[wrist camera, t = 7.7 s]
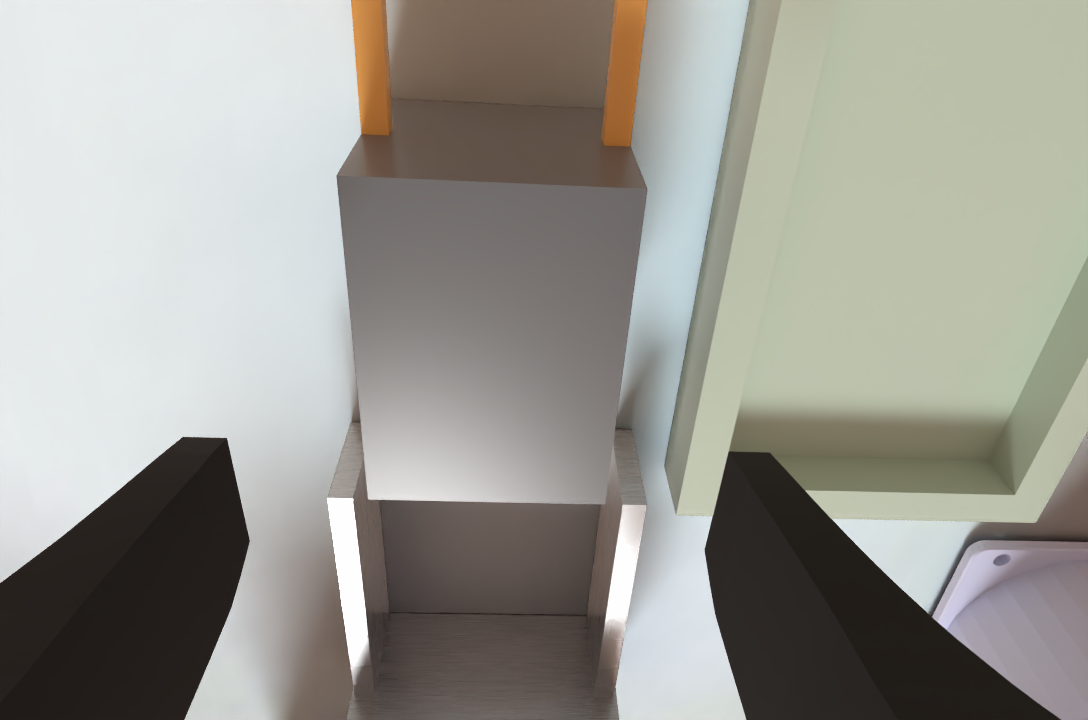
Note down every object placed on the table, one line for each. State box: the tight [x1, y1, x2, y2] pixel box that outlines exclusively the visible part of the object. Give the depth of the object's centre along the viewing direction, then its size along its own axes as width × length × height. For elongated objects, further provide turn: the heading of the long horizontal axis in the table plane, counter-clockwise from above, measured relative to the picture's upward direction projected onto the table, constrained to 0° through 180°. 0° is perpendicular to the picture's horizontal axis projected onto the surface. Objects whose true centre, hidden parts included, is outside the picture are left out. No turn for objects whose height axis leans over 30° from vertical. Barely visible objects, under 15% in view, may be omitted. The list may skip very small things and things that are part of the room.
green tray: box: [664, 0, 1088, 523], centre depth 17 cm, size 10×17×2 cm, turn 177°
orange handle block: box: [337, 0, 648, 505], centre depth 15 cm, size 5×12×5 cm, turn 177°
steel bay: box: [327, 422, 647, 720], centre depth 21 cm, size 8×11×6 cm
